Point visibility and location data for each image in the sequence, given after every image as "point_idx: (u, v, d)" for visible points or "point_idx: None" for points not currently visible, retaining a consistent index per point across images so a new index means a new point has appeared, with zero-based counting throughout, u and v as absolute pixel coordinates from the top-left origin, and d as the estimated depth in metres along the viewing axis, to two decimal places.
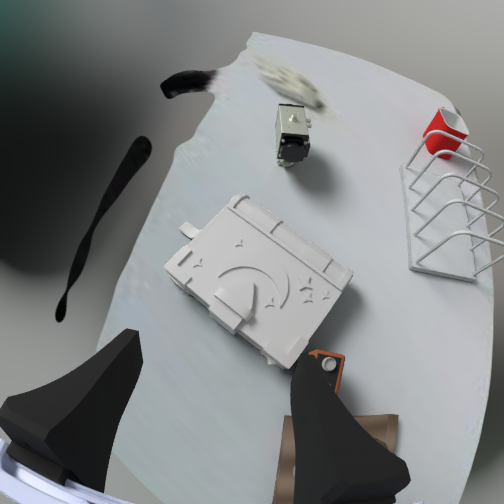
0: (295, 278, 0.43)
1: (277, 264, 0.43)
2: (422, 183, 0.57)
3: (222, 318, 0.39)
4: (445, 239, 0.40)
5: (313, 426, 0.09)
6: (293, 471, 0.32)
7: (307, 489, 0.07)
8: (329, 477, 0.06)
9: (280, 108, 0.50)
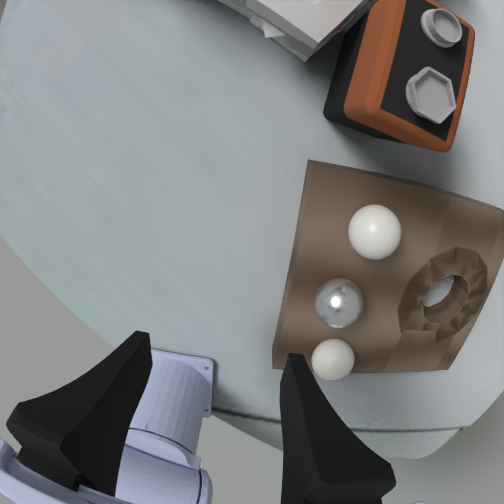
0: None
1: None
2: None
3: None
4: None
5: (299, 426, 0.09)
6: (316, 303, 0.18)
7: (292, 489, 0.07)
8: (311, 478, 0.06)
9: None
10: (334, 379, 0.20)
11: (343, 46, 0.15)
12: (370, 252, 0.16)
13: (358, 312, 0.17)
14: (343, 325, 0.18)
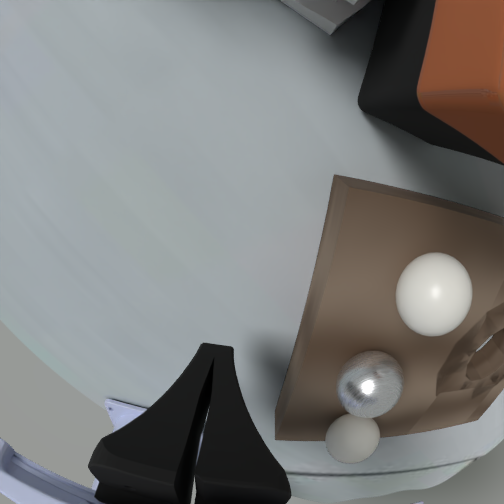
0: None
1: None
2: None
3: None
4: None
5: None
6: (340, 390, 0.12)
7: None
8: None
9: None
10: (353, 462, 0.13)
11: (388, 5, 0.08)
12: (429, 331, 0.09)
13: (397, 400, 0.11)
14: None
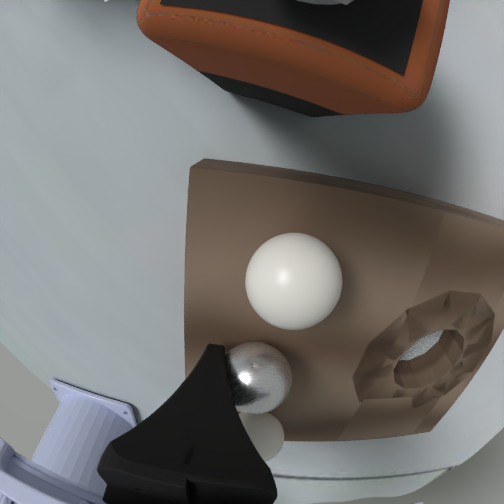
0: None
1: None
2: None
3: None
4: None
5: None
6: None
7: None
8: None
9: None
10: None
11: None
12: (275, 322, 0.09)
13: (283, 395, 0.11)
14: (262, 413, 0.11)
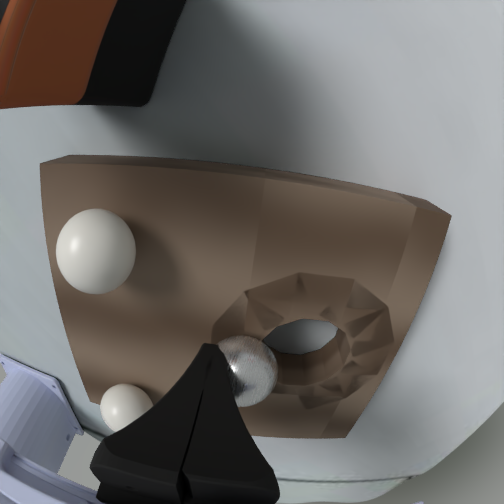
0: None
1: None
2: None
3: None
4: None
5: None
6: None
7: None
8: None
9: None
10: None
11: None
12: (71, 284, 0.09)
13: None
14: None
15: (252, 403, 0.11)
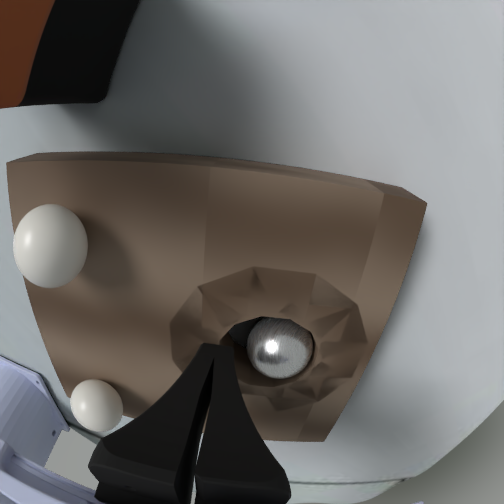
0: None
1: None
2: None
3: None
4: None
5: None
6: (270, 373, 0.13)
7: None
8: None
9: None
10: None
11: None
12: (26, 277, 0.09)
13: (308, 331, 0.14)
14: (311, 355, 0.14)
15: None
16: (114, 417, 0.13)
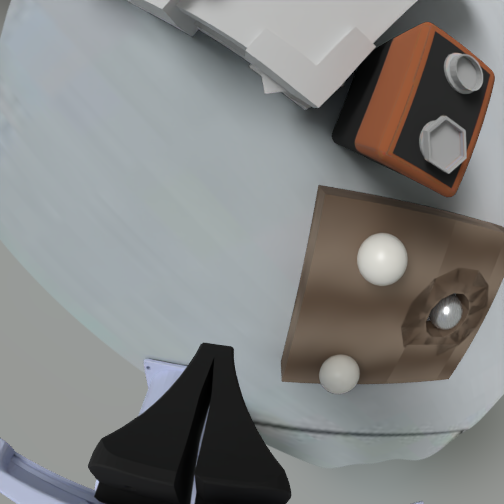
0: None
1: None
2: None
3: None
4: None
5: None
6: (444, 324, 0.21)
7: None
8: None
9: None
10: (340, 393, 0.20)
11: (359, 71, 0.15)
12: (378, 280, 0.16)
13: (460, 302, 0.21)
14: (461, 316, 0.21)
15: None
16: (358, 377, 0.21)
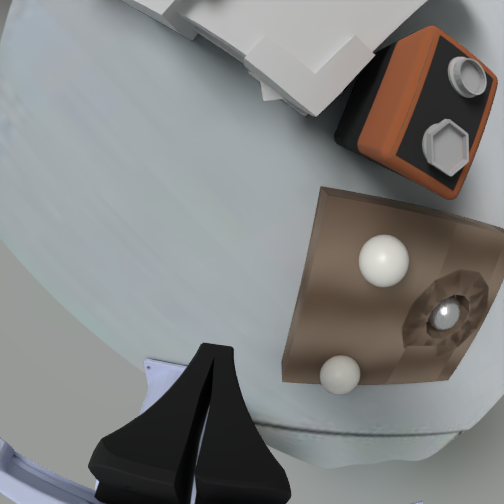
0: None
1: None
2: None
3: None
4: None
5: None
6: (440, 322, 0.21)
7: None
8: None
9: None
10: (341, 393, 0.20)
11: (362, 72, 0.15)
12: (379, 281, 0.16)
13: None
14: None
15: None
16: None
